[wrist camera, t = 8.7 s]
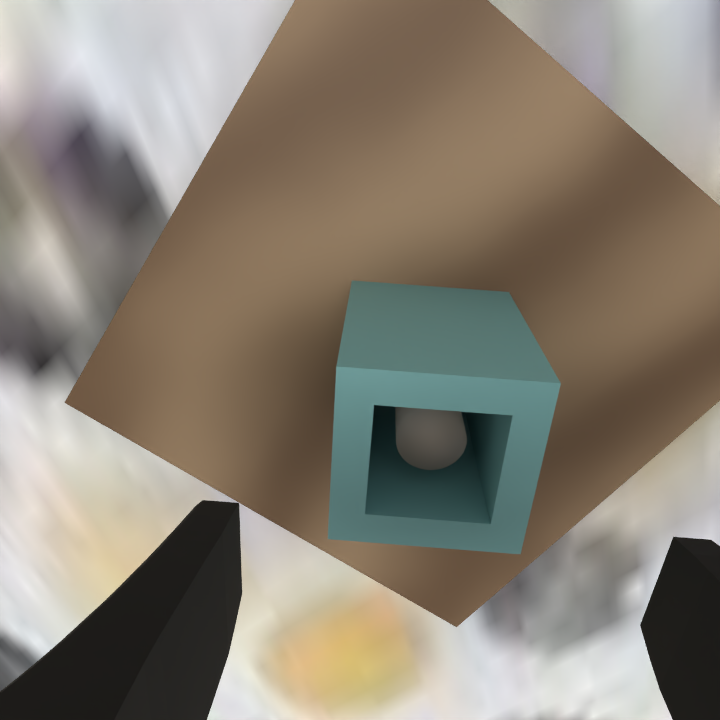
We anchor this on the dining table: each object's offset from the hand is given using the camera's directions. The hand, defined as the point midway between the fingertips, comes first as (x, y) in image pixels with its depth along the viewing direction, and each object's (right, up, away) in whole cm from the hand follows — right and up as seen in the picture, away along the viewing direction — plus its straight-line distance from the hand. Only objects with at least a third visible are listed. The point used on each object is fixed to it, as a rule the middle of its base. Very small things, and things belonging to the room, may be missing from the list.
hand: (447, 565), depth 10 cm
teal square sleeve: (0, +4, +8) cm, 8 cm away
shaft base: (0, +4, +8) cm, 9 cm away
